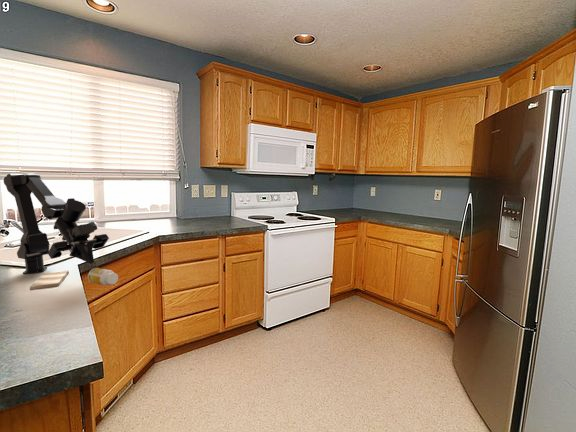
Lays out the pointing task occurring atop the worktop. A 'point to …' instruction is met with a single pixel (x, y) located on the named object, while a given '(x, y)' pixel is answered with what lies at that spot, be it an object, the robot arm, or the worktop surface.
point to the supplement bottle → (102, 276)
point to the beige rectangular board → (49, 279)
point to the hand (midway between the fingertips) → (92, 263)
